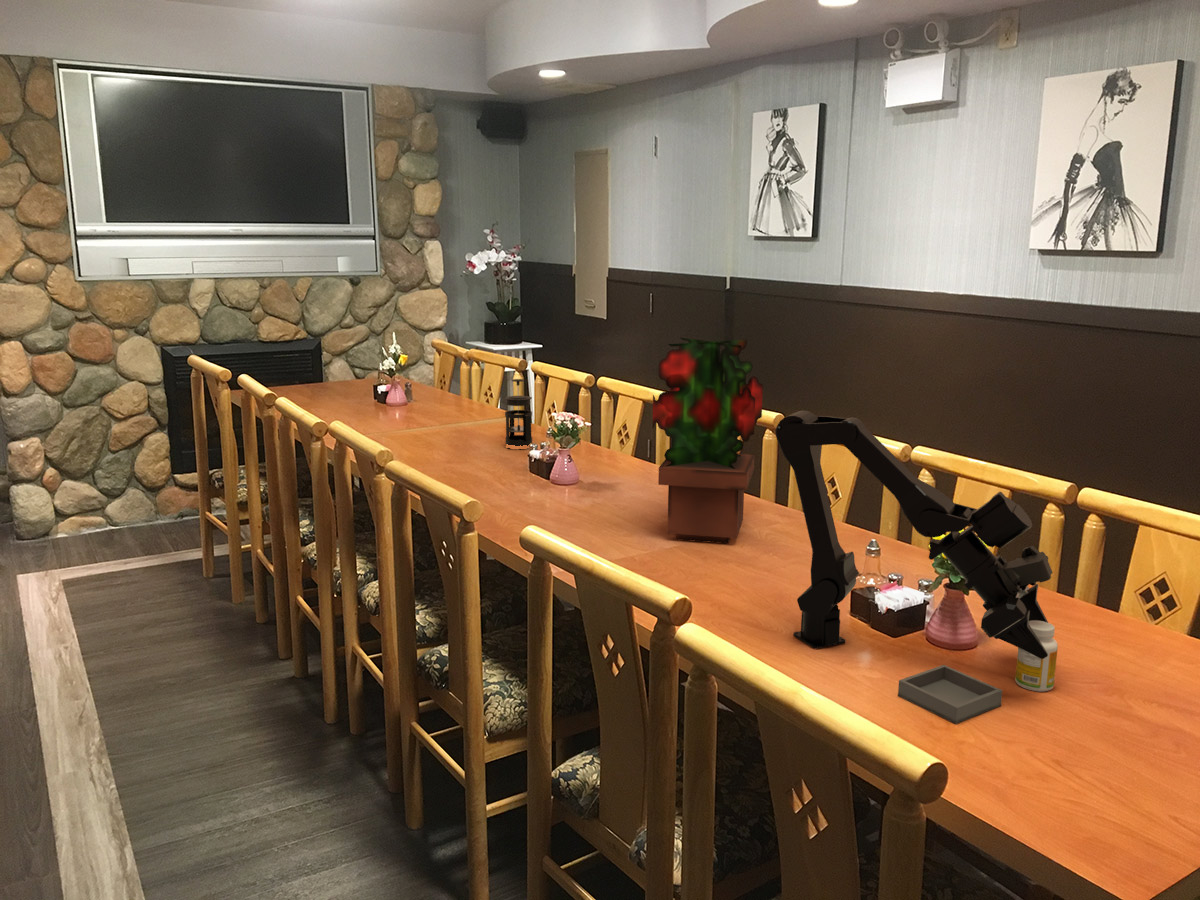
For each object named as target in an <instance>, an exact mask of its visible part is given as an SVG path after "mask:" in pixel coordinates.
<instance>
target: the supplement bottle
mask: <svg viewBox="0 0 1200 900" xmlns="http://www.w3.org/2000/svg"><path fill="white" fill-rule="evenodd" d="M1029 625H1030V627H1031V628H1032V630H1033V631H1034V633H1035V634H1036V636H1037V638H1038V639H1039V641H1040V642H1041V644H1042V645H1043V647H1044V648H1045V650H1046V652H1047V653H1048V656H1047V657H1046V658H1044V659H1041V658H1039V657H1037V656H1035V655H1033V654H1031V653H1029V652H1027V651H1025V650H1023V649H1020V648H1018V647H1017V648H1018V650H1017V657H1016V667H1015V668H1016V669H1015V675H1014V676H1015V679H1014V680H1015V683H1016V684H1017V685H1018V686H1020V687H1022V689H1026V690H1030V691H1034V692H1040V693H1041V692H1049V691H1051V690H1052V689H1053V688H1054V685H1055V676H1056V675H1055V674H1056V666H1057V660H1058V659H1057V657H1058V647H1059V646H1058V645H1059V644H1058V642H1057V640H1056V639H1054V636H1055V629H1056V628H1055V625H1053V624H1052V623H1049V621H1048V622H1044V621H1037V620H1032V621H1029Z"/></svg>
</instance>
